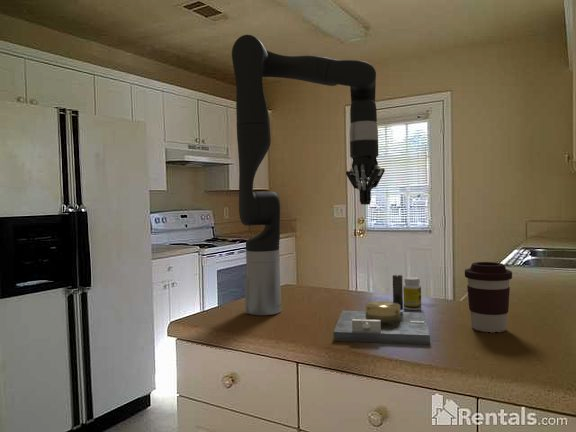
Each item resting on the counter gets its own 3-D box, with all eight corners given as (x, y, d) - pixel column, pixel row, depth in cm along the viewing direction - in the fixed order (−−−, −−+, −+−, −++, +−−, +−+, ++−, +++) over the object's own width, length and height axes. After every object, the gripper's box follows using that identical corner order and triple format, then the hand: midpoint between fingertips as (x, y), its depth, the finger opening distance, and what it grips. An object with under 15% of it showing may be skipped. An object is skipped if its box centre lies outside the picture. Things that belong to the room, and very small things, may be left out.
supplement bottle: (422, 310, 123) (421, 279, 123) (404, 310, 124) (403, 279, 124) (420, 306, 128) (420, 276, 128) (403, 306, 129) (402, 276, 129)
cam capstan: (393, 324, 102) (392, 286, 101) (360, 319, 106) (359, 283, 106) (415, 309, 114) (414, 276, 114) (384, 306, 119) (384, 273, 118)
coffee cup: (509, 337, 98) (509, 268, 98) (461, 331, 103) (460, 265, 103) (515, 326, 107) (514, 261, 106) (469, 321, 112) (469, 260, 111)
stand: (333, 341, 99) (333, 321, 99) (342, 318, 118) (342, 301, 118) (430, 345, 95) (429, 324, 94) (423, 320, 113) (423, 302, 113)
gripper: (392, 137, 120) (393, 203, 120) (357, 143, 131) (358, 204, 131) (371, 136, 116) (373, 204, 116) (337, 142, 126) (338, 205, 127)
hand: (365, 204), depth 124 cm, fingers closed
